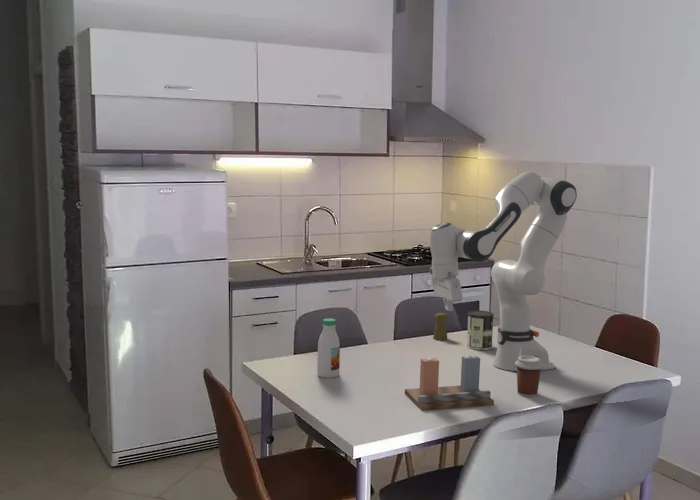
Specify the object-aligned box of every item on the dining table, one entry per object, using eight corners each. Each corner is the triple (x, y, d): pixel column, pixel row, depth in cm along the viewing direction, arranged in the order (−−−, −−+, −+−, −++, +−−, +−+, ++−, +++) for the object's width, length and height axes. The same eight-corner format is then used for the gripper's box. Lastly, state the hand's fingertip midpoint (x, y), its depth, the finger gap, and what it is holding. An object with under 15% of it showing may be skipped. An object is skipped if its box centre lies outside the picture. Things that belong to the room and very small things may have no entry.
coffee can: (489, 343, 304) (491, 310, 302) (494, 350, 294) (495, 316, 292) (464, 343, 304) (466, 309, 302) (468, 349, 294) (469, 315, 292)
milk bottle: (323, 379, 252) (324, 322, 250) (313, 373, 259) (314, 318, 256) (343, 376, 256) (344, 320, 253) (333, 370, 263) (334, 316, 260)
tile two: (474, 391, 238) (476, 355, 237) (478, 394, 235) (480, 357, 234) (460, 392, 237) (461, 355, 235) (464, 395, 234) (465, 358, 232)
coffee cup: (529, 400, 236) (531, 364, 234) (507, 392, 243) (509, 357, 242) (547, 395, 241) (549, 359, 240) (525, 387, 249) (527, 353, 247)
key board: (472, 388, 246) (473, 378, 245) (493, 405, 230) (494, 394, 230) (404, 393, 240) (405, 383, 239) (421, 410, 224) (422, 399, 224)
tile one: (434, 394, 235) (435, 357, 233) (437, 397, 232) (439, 360, 230) (419, 395, 233) (420, 358, 232) (422, 398, 230) (424, 360, 229)
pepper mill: (446, 341, 307) (448, 315, 306) (432, 340, 308) (433, 314, 307) (448, 337, 313) (449, 312, 311) (433, 336, 314) (434, 311, 313)
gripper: (464, 273, 242) (468, 314, 244) (444, 266, 262) (448, 303, 263) (446, 276, 241) (450, 317, 242) (427, 268, 261) (431, 306, 262)
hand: (449, 310), depth 253 cm, fingers closed
